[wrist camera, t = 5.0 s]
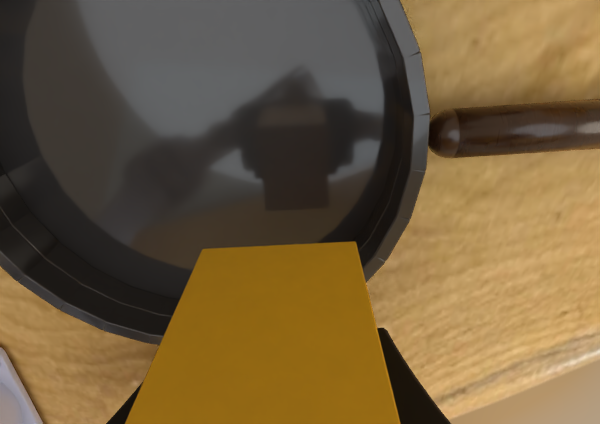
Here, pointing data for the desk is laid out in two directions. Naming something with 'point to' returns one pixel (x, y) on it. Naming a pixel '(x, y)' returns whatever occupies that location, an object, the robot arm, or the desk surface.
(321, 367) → the yellow block
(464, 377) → the desk surface
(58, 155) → the pan
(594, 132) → the pan handle
